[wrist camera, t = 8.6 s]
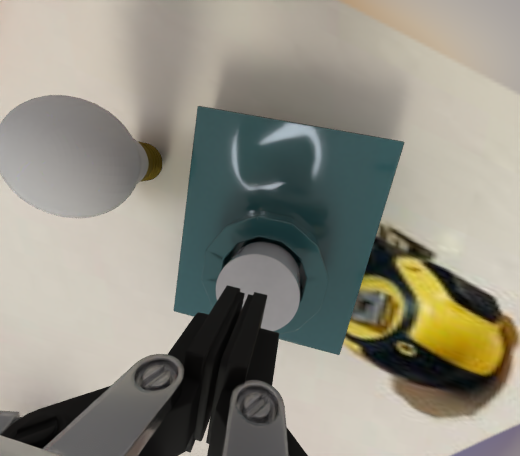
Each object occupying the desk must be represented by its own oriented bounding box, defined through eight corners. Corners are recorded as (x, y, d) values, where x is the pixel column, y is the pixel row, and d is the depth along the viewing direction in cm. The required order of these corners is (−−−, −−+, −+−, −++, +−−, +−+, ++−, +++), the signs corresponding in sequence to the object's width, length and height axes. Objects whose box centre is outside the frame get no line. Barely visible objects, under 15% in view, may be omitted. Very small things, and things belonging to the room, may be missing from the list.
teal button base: (213, 114, 19) (182, 97, 14) (388, 145, 18) (420, 137, 13) (190, 292, 22) (158, 327, 18) (334, 329, 21) (343, 378, 16)
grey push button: (233, 233, 16) (222, 245, 13) (308, 250, 15) (308, 265, 13) (222, 300, 17) (209, 321, 15) (291, 318, 16) (290, 342, 14)
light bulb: (202, 150, 20) (104, 135, 10) (165, 215, 21) (50, 256, 12) (136, 104, 20) (-26, 44, 10) (104, 172, 21) (-62, 178, 12)
